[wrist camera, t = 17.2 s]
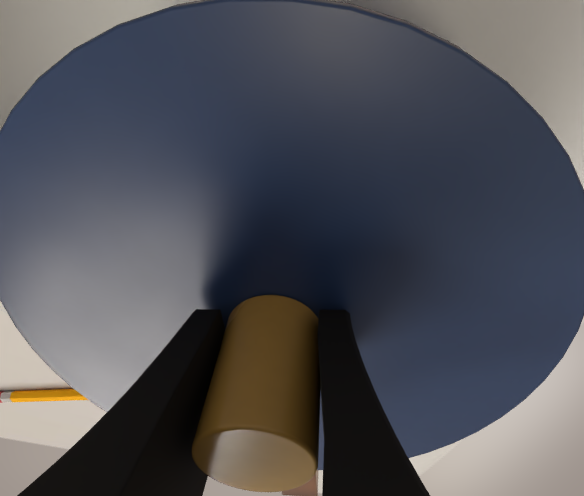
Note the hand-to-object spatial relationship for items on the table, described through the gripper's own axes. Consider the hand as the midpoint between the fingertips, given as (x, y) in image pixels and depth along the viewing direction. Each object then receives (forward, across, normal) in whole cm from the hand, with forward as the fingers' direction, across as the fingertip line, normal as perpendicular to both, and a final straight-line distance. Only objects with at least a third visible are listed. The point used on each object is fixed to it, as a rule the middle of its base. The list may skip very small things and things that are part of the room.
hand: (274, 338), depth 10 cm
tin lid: (+1, 0, 0) cm, 1 cm away
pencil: (+10, +16, +16) cm, 25 cm away
